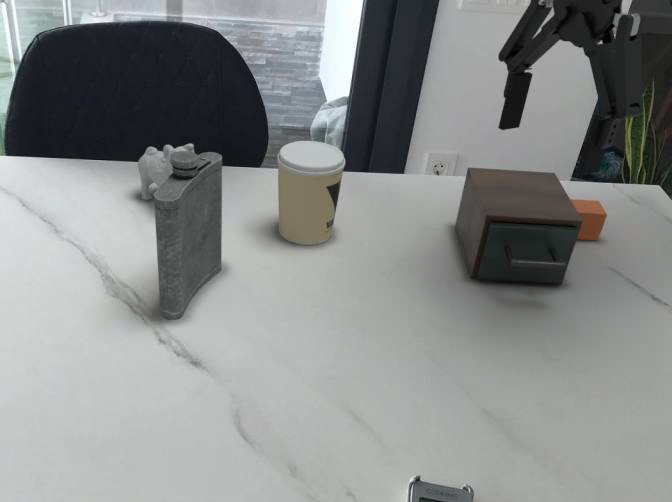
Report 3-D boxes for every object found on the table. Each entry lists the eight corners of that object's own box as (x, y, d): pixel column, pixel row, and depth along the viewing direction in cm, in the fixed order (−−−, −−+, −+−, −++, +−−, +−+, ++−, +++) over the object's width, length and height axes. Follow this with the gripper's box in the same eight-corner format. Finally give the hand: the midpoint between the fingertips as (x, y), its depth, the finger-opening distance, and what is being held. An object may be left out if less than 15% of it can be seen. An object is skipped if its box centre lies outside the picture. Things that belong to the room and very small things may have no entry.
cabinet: (561, 284, 106) (583, 221, 100) (470, 278, 106) (486, 215, 100) (537, 232, 117) (554, 172, 111) (454, 227, 117) (467, 167, 111)
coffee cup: (338, 249, 110) (348, 169, 102) (273, 246, 109) (277, 165, 102) (335, 218, 117) (343, 141, 109) (273, 215, 117) (277, 138, 109)
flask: (150, 314, 95) (141, 176, 83) (200, 260, 105) (198, 131, 94) (177, 322, 94) (172, 183, 83) (224, 266, 105) (226, 136, 93)
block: (589, 226, 120) (598, 200, 117) (598, 240, 117) (607, 214, 114) (561, 224, 120) (569, 198, 117) (569, 239, 116) (577, 212, 114)
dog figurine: (185, 227, 112) (183, 157, 105) (134, 195, 119) (129, 127, 112) (214, 217, 115) (214, 148, 108) (162, 185, 122) (159, 119, 115)
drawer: (571, 303, 101) (589, 250, 96) (484, 298, 101) (498, 245, 96) (538, 234, 115) (552, 185, 110) (462, 229, 115) (473, 180, 110)
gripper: (495, -77, 85) (456, 114, 98) (676, -23, 68) (600, 199, 82) (547, -79, 88) (502, 108, 101) (732, -27, 71) (650, 188, 85)
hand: (546, 149), depth 92 cm, fingers open, 13 cm apart
